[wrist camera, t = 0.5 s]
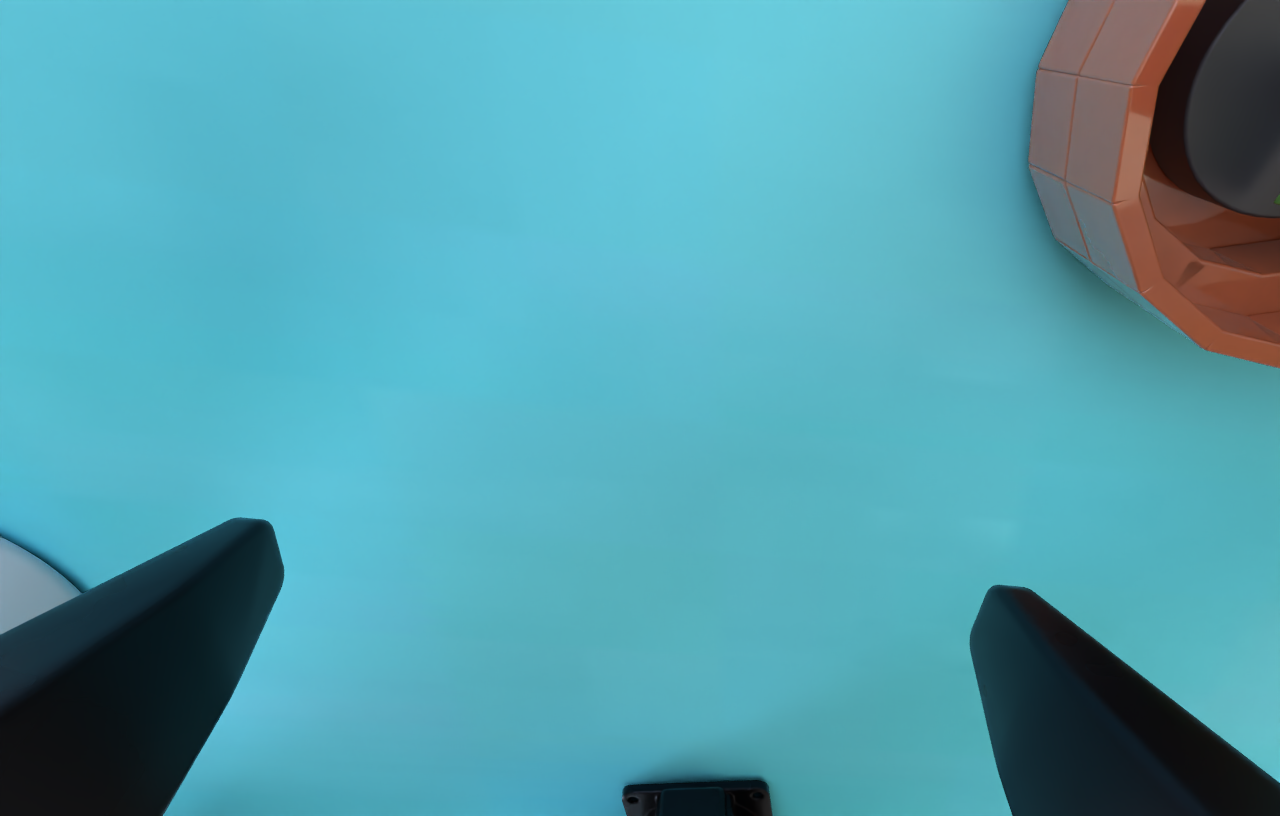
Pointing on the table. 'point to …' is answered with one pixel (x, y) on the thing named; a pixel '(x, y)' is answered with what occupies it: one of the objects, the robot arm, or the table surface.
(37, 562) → the cylinder vase
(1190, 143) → the tulip
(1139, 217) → the bowl
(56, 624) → the robot arm
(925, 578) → the table surface
